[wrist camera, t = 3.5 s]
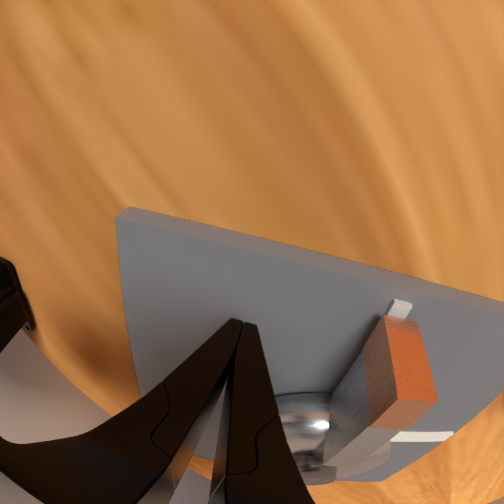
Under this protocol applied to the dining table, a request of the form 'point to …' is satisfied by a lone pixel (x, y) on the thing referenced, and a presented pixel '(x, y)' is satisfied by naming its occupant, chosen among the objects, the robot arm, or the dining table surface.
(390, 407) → the dial
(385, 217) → the dining table surface
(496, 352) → the plate
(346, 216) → the dining table surface
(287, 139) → the dining table surface
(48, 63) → the dining table surface
